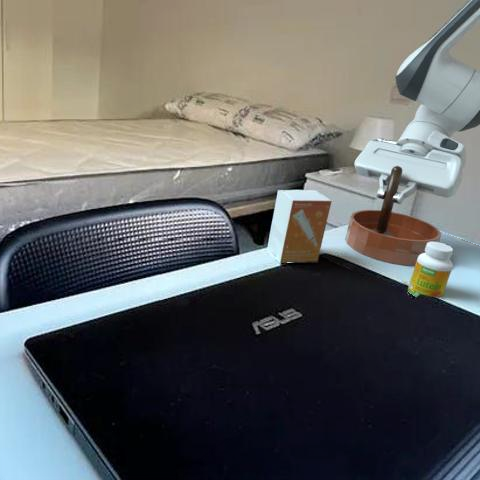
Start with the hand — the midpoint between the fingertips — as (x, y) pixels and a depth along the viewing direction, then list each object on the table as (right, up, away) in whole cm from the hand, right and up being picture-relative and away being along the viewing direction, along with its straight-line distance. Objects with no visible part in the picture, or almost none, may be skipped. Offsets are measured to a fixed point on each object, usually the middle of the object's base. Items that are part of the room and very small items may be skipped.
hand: (388, 199), depth 101 cm
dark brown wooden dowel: (0, -8, +4) cm, 9 cm away
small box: (-20, -12, -3) cm, 24 cm away
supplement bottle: (0, -18, -14) cm, 23 cm away
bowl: (+2, -10, +5) cm, 12 cm away
